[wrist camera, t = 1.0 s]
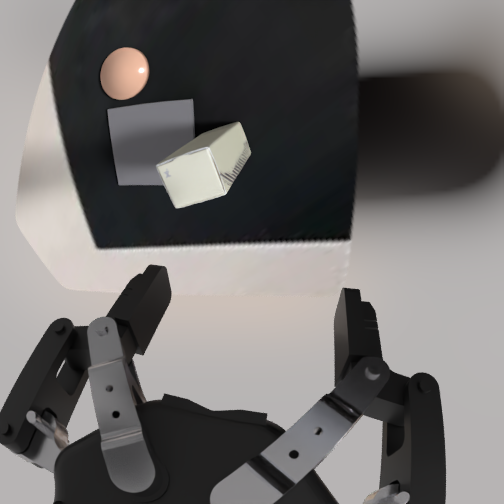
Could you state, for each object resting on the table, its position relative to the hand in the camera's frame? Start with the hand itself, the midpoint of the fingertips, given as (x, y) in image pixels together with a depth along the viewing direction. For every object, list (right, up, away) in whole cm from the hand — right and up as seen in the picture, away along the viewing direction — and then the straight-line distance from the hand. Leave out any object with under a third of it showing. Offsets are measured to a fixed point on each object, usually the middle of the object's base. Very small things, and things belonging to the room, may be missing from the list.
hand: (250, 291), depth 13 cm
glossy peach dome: (-16, +24, +16) cm, 33 cm away
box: (-3, +15, +20) cm, 25 cm away
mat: (-13, +16, +22) cm, 29 cm away
